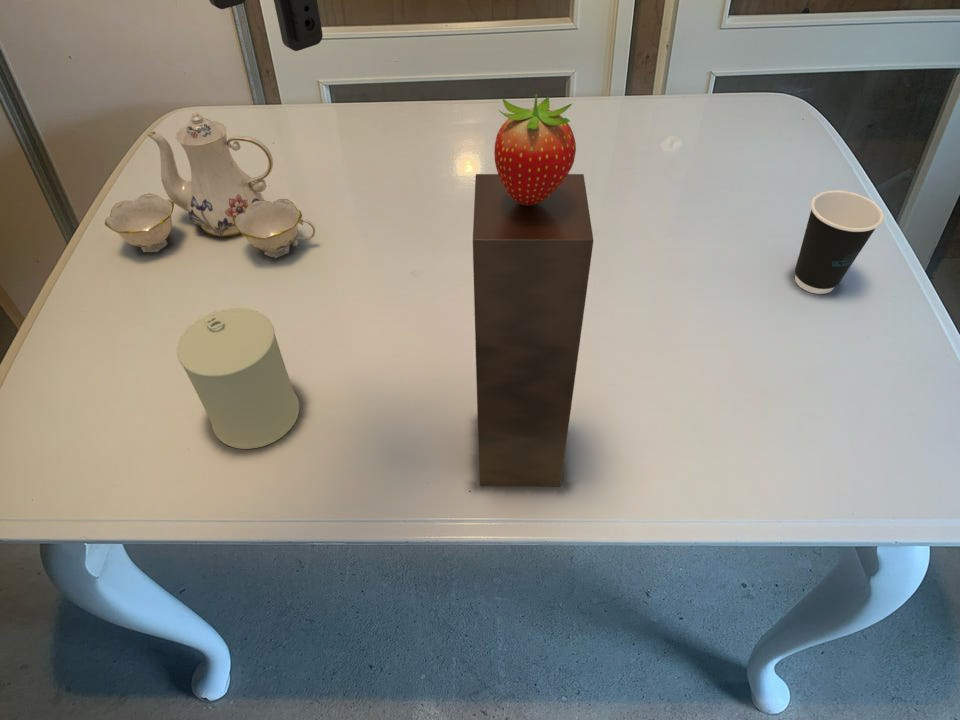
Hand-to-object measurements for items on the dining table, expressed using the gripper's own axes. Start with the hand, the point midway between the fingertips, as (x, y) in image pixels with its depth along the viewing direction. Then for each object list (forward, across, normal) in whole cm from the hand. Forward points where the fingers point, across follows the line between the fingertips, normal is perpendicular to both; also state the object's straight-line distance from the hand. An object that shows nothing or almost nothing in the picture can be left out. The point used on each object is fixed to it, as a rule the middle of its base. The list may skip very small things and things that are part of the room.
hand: (265, 24), depth 41 cm
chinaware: (+42, -43, +7) cm, 60 cm away
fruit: (+12, +12, +11) cm, 20 cm away
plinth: (+41, +12, +11) cm, 45 cm away
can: (+42, -11, -6) cm, 44 cm away
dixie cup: (+41, +20, +57) cm, 73 cm away
